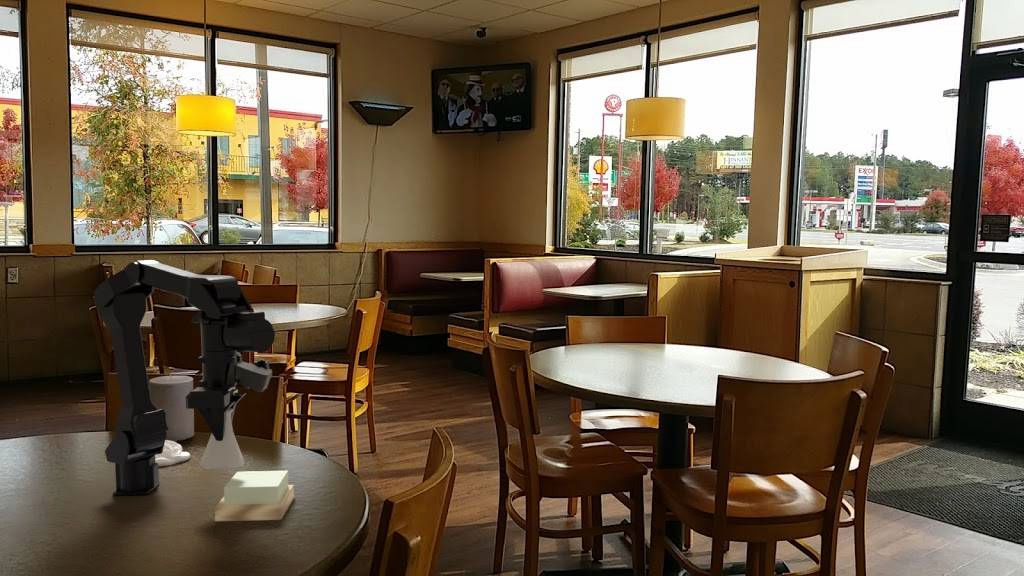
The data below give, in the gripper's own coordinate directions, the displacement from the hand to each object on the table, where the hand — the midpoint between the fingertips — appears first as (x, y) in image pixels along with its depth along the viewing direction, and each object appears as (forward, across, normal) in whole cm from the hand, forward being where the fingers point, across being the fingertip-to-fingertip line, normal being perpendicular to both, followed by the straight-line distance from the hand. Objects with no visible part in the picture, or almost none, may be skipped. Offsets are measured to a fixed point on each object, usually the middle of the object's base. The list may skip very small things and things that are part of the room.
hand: (222, 438), depth 142 cm
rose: (+13, +32, +21) cm, 40 cm away
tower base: (+14, 0, -5) cm, 14 cm away
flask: (+5, 0, 0) cm, 5 cm away
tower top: (+10, 0, -6) cm, 12 cm away
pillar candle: (+12, +51, +27) cm, 59 cm away
